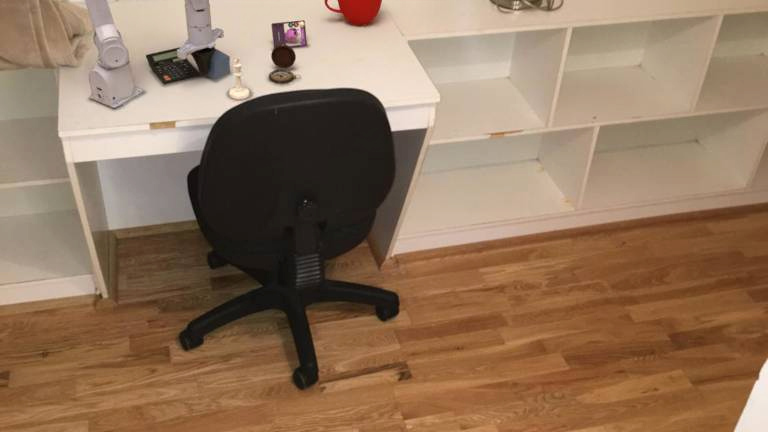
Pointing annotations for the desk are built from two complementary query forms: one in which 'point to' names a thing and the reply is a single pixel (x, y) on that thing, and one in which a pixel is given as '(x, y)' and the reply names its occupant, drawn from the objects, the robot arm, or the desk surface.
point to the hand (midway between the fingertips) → (204, 73)
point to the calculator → (171, 66)
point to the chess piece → (238, 82)
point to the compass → (282, 64)
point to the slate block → (219, 65)
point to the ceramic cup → (358, 10)
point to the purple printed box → (288, 33)
